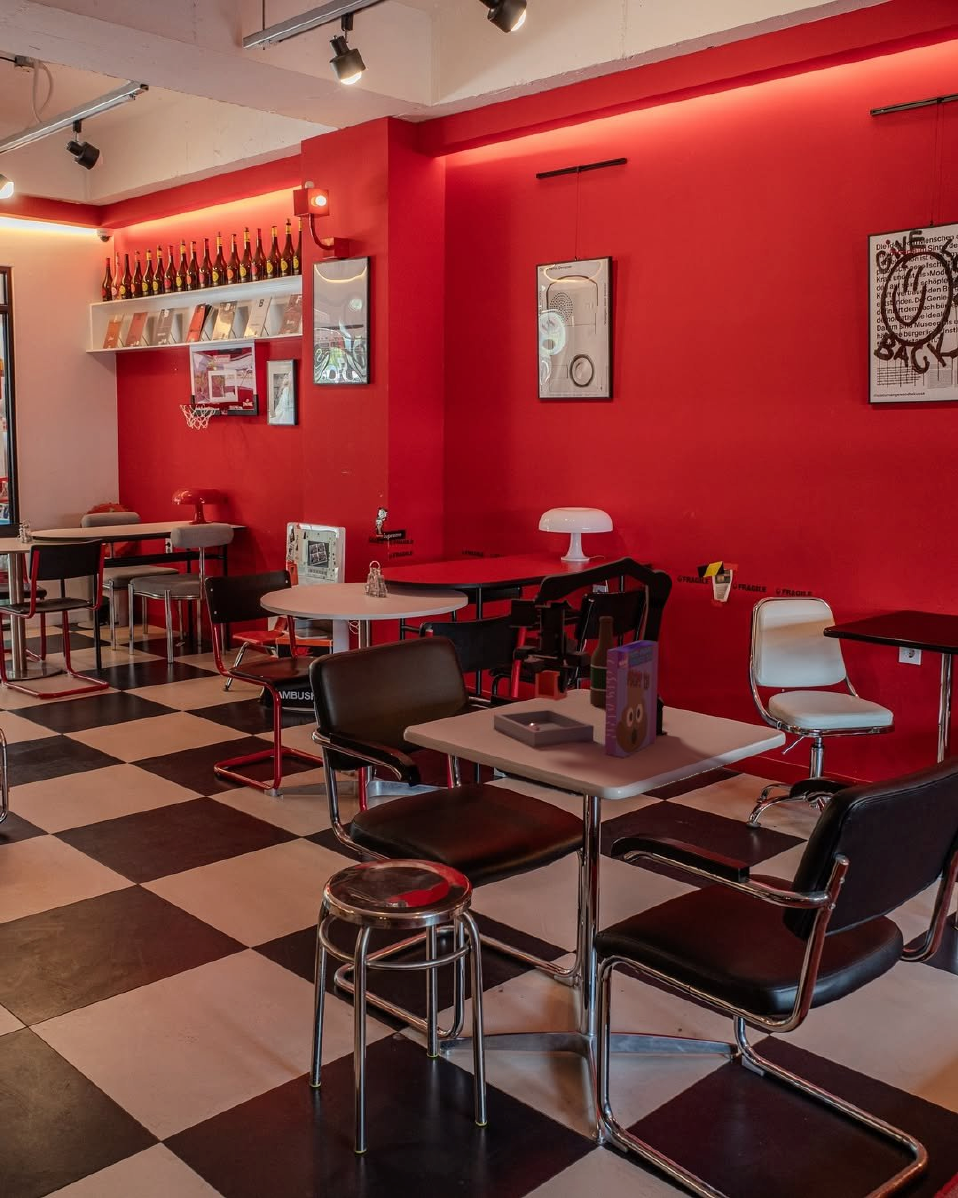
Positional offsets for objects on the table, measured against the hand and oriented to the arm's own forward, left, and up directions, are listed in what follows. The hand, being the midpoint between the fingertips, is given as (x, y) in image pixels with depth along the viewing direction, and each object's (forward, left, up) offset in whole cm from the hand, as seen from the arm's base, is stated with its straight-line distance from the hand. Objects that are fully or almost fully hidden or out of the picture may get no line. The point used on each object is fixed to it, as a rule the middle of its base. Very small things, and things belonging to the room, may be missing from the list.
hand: (551, 691), depth 272 cm
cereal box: (-22, -8, -10) cm, 26 cm away
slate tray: (-2, +3, -10) cm, 11 cm away
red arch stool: (0, 0, -2) cm, 2 cm away
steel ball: (-5, +8, -8) cm, 12 cm away
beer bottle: (+20, -29, -10) cm, 36 cm away
